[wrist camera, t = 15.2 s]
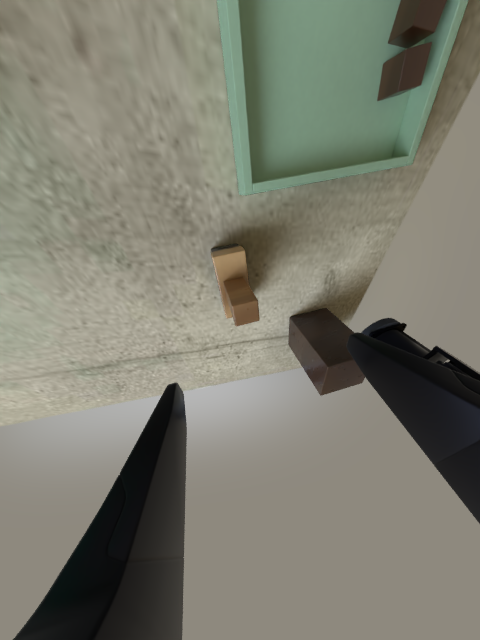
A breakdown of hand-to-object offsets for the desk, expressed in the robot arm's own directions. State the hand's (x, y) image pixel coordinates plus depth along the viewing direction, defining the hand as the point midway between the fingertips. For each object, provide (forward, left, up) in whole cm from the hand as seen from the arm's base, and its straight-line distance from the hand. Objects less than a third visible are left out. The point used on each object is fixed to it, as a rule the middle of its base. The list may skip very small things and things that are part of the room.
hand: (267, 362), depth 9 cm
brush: (0, 0, -11) cm, 11 cm away
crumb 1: (-13, -13, -11) cm, 21 cm away
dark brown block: (-9, +10, -11) cm, 17 cm away
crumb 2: (-13, -11, -11) cm, 20 cm away
